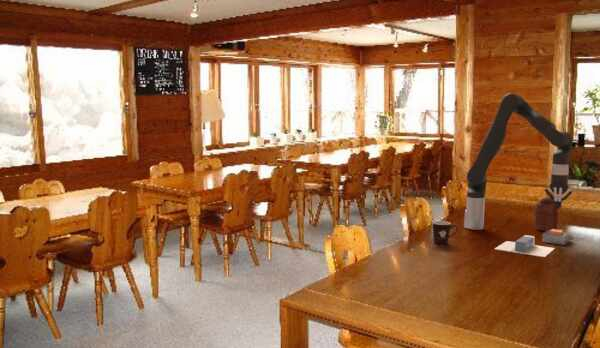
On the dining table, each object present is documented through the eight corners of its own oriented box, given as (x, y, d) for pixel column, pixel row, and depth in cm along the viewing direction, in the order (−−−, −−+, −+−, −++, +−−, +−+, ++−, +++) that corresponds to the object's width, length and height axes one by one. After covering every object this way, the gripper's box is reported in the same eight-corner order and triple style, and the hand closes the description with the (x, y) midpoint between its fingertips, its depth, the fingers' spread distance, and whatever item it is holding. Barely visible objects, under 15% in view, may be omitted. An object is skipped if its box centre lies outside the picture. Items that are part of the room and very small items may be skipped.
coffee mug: (429, 244, 264) (430, 223, 262) (434, 240, 271) (434, 220, 270) (454, 246, 258) (454, 226, 257) (458, 242, 266) (458, 222, 265)
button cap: (549, 236, 268) (549, 230, 267) (551, 234, 271) (552, 228, 271) (560, 238, 264) (560, 232, 264) (562, 236, 268) (563, 230, 268)
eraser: (514, 250, 250) (515, 241, 249) (524, 244, 262) (525, 234, 261) (525, 252, 247) (525, 242, 246) (534, 245, 259) (534, 236, 258)
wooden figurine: (559, 230, 291) (561, 197, 288) (556, 233, 286) (558, 199, 283) (535, 227, 298) (537, 195, 295) (532, 229, 293) (534, 196, 290)
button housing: (542, 241, 267) (542, 233, 267) (547, 237, 275) (547, 230, 275) (564, 245, 261) (564, 236, 261) (569, 240, 269) (569, 232, 269)
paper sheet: (494, 249, 254) (494, 248, 254) (506, 241, 268) (506, 240, 268) (544, 257, 241) (544, 256, 241) (554, 248, 255) (554, 247, 255)
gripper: (576, 173, 263) (574, 209, 265) (547, 171, 271) (545, 206, 273) (573, 175, 257) (570, 211, 259) (543, 173, 265) (541, 208, 267)
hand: (557, 208), depth 266 cm, fingers closed
